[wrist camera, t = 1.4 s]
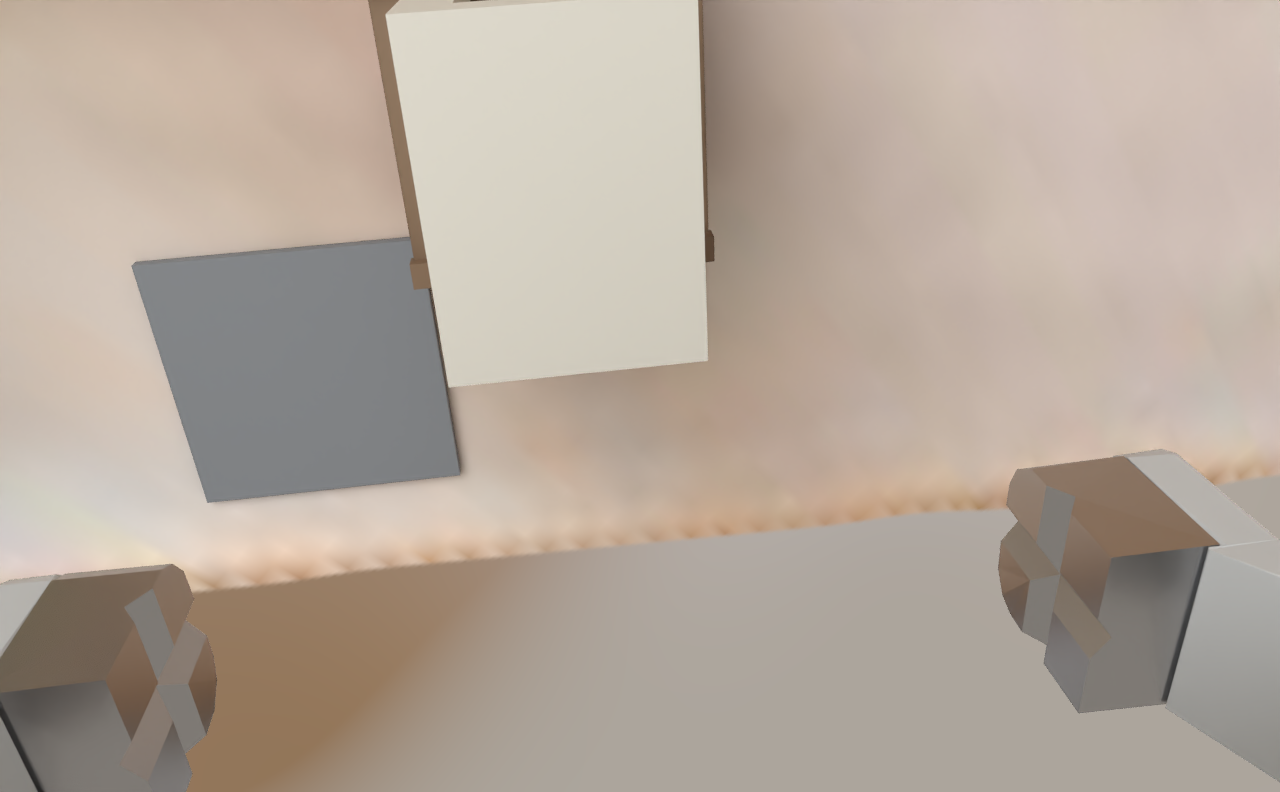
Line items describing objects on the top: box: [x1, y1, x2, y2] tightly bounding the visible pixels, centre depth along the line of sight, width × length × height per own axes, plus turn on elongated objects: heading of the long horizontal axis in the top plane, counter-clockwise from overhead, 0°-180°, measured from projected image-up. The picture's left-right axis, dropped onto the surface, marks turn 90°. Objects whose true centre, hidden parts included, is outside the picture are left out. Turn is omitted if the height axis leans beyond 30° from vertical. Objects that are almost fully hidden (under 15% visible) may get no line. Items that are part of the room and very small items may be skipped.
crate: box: [368, 0, 714, 290], centre depth 30 cm, size 9×9×6 cm
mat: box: [132, 237, 460, 503], centre depth 37 cm, size 10×10×1 cm
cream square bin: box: [385, 0, 708, 387], centre depth 24 cm, size 6×8×8 cm
